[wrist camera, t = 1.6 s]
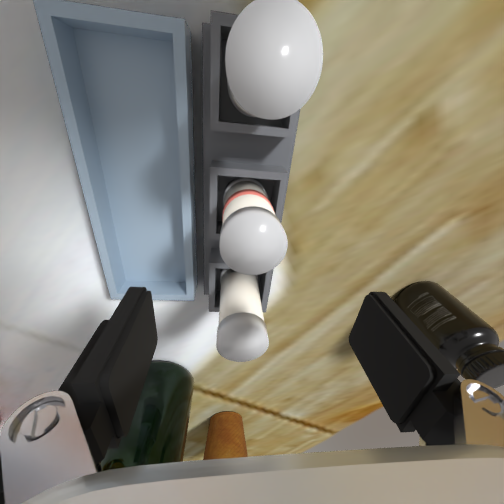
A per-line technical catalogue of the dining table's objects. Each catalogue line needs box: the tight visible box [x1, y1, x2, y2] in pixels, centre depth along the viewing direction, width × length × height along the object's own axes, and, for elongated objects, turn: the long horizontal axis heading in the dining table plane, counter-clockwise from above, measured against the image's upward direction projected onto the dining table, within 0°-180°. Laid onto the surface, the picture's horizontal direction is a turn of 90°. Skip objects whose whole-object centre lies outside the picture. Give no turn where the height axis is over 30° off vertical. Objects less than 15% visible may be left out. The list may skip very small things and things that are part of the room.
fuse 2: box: [225, 0, 323, 120], centre depth 14 cm, size 4×4×10 cm
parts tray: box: [33, 0, 197, 301], centre depth 22 cm, size 24×9×3 cm, turn 175°
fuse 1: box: [216, 269, 269, 362], centre depth 23 cm, size 4×4×10 cm
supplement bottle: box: [395, 281, 504, 389], centre depth 29 cm, size 7×7×12 cm
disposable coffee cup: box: [203, 412, 248, 460], centre depth 42 cm, size 10×10×12 cm
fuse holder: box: [202, 11, 300, 312], centre depth 23 cm, size 25×8×4 cm, turn 175°
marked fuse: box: [219, 177, 288, 275], centre depth 19 cm, size 4×4×10 cm
